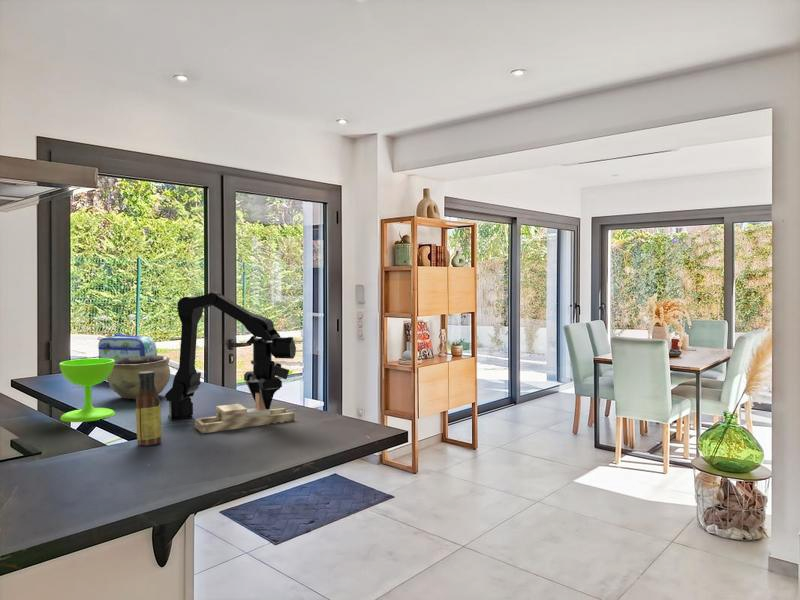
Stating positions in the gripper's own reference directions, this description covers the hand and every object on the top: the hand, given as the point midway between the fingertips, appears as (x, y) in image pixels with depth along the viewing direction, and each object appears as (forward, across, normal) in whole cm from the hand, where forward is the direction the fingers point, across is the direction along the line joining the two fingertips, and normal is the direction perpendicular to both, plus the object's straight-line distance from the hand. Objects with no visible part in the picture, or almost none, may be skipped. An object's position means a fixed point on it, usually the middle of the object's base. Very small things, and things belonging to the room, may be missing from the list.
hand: (262, 406), depth 183 cm
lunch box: (+5, +97, +26) cm, 100 cm away
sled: (+4, 0, +5) cm, 6 cm away
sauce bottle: (+5, -7, +35) cm, 36 cm away
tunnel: (+5, 0, +5) cm, 7 cm away
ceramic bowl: (+5, +59, +27) cm, 65 cm away
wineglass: (+5, +37, +46) cm, 59 cm away
